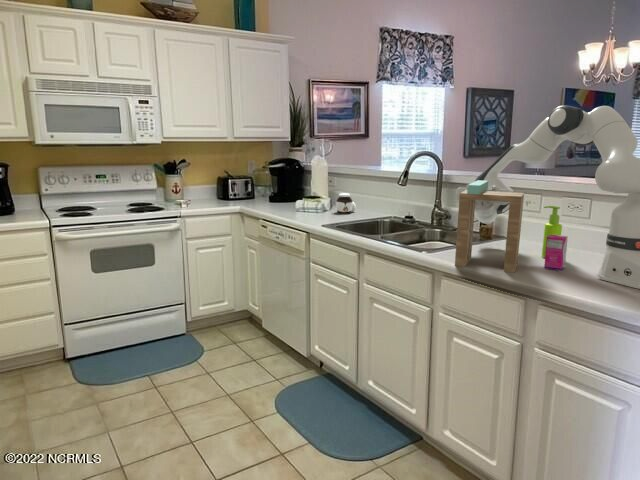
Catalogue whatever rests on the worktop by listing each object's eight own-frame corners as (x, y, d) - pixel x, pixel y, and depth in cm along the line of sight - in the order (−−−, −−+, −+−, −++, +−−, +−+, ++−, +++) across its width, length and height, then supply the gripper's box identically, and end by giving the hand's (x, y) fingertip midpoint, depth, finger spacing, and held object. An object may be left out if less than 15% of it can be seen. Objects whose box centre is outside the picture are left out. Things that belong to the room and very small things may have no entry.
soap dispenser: (542, 254, 193) (547, 204, 189) (560, 258, 188) (566, 206, 184) (536, 257, 189) (541, 206, 185) (554, 260, 184) (560, 207, 180)
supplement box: (547, 264, 177) (551, 234, 175) (565, 267, 174) (569, 236, 172) (543, 267, 173) (546, 236, 171) (561, 270, 169) (564, 238, 167)
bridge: (461, 257, 187) (466, 189, 182) (517, 263, 179) (524, 192, 174) (454, 265, 175) (459, 193, 170) (514, 272, 166) (521, 196, 161)
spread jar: (335, 213, 297) (335, 194, 295) (337, 210, 308) (338, 192, 306) (354, 214, 295) (355, 194, 293) (356, 211, 306) (357, 193, 304)
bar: (477, 188, 190) (477, 180, 189) (488, 188, 188) (488, 180, 188) (467, 193, 169) (467, 184, 168) (479, 194, 167) (479, 185, 166)
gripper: (510, 210, 193) (509, 195, 181) (457, 207, 202) (453, 193, 190) (512, 196, 195) (511, 180, 183) (459, 193, 203) (455, 178, 191)
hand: (481, 186), depth 186 cm, fingers open, 8 cm apart
